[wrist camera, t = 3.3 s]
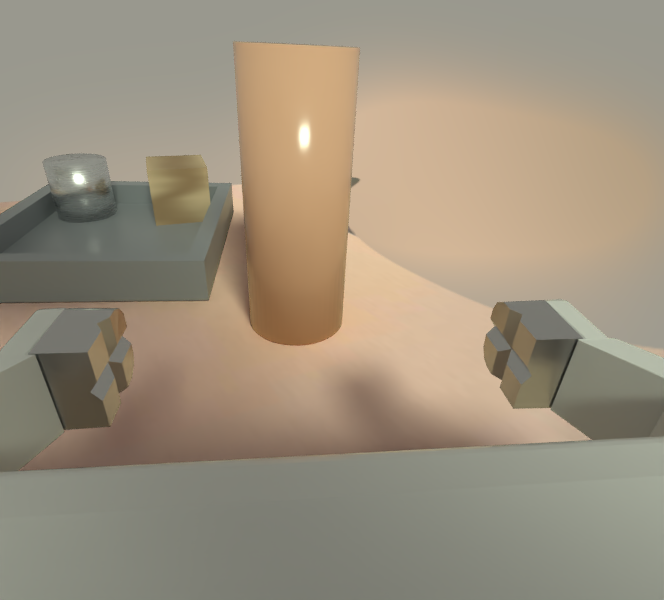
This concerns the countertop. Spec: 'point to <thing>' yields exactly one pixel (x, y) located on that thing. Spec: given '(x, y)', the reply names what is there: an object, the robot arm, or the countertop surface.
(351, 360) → the countertop surface
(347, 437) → the countertop surface
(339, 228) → the canister
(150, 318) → the countertop surface
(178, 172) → the part oak
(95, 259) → the parts tray
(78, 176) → the part metal
